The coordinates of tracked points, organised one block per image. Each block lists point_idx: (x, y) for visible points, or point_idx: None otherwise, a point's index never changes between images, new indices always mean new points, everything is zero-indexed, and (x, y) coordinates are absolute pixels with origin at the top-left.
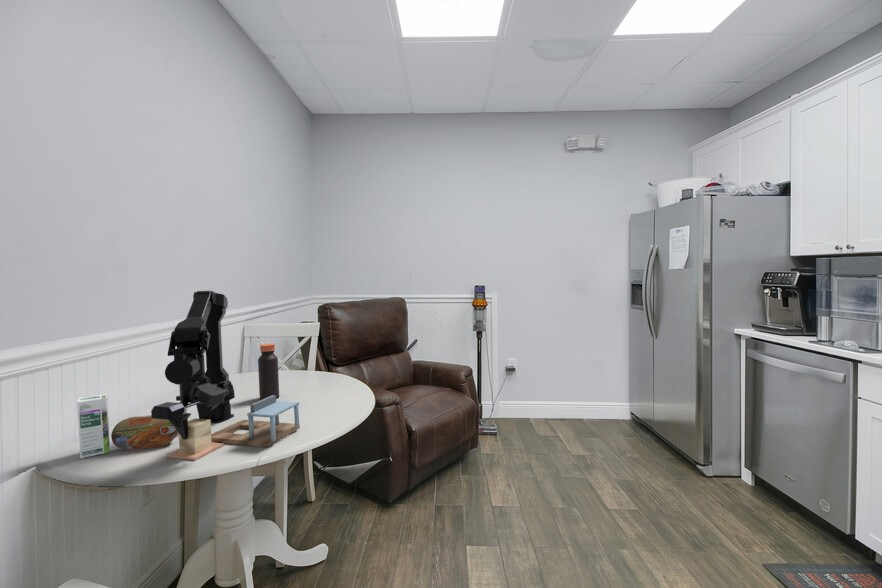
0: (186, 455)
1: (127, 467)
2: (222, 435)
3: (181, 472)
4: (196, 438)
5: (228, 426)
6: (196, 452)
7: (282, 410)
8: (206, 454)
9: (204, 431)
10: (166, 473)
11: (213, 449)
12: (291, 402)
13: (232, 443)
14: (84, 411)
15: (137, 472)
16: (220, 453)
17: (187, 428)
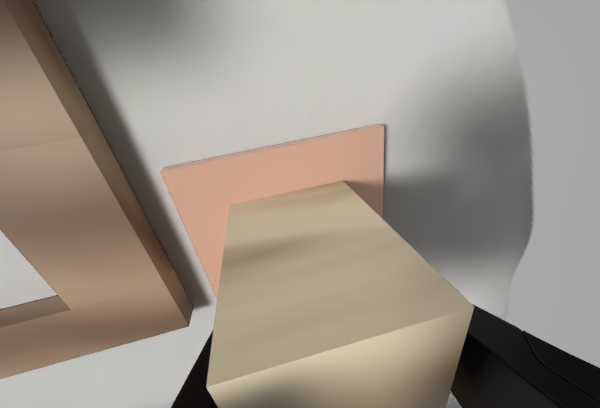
0: (367, 204)
1: None
2: (106, 276)
3: (500, 49)
4: (369, 226)
5: (2, 375)
6: (337, 183)
7: None
8: (302, 140)
9: (297, 264)
10: (505, 118)
11: (250, 152)
12: None
13: (103, 141)
14: None
15: (491, 233)
16: (251, 67)
17: (470, 328)
